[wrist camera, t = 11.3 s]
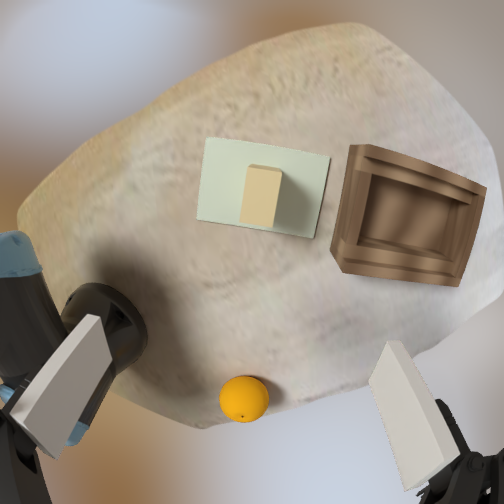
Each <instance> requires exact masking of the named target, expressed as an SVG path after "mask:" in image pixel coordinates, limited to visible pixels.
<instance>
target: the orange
mask: <svg viewBox="0 0 504 504" xmlns="http://www.w3.org/2000/svg"><path fill="white" fill-rule="evenodd" d="M219 402H220V407H221V409H222V411H223V412H224V414H225V415H226V416H227V417H229V418H230V419H232V420H234V421H237V422H244V423H245V422H252V421H255V420H257V419H258V418H260V417H261V416H262V415H263V414H264V413H265V411H266V409H267V408H268V404H269V394H268V391H267V389H266V387H265V386H264V385H263V384H262V383H261V382H260V381H259V380H257V379H255V378H252V377H248V376H240V377H235V378H233V379H230V380H229V381H228V382H227V383H225V384H224V386H223V387H222V389H221V392H220V395H219Z"/></svg>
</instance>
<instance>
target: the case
mask: <svg viewBox="0 0 504 504" xmlns="http://www.w3.org/2000/svg"><path fill="white" fill-rule="evenodd" d="M486 190H487V188H486V187H484V186H482V185H480V184H478V183H476V182H474V181H471V180H469V179H467V178H465V177H462V176H460V175H458V174H455V173H453V172H450V171H448V170H445V169H443V168H440V167H438V166H435V165H433V164H430V163H427V162H424V161H422V160H419V159H416V158H413V157H410V156H407V155H404V154H401V153H398V152H394V151H391V150H388V149H384V148H381V147H378V146H374V145H370V144H365V145H350V147H349V154H348V160H347V166H346V172H345V178H344V184H343V189H342V195H341V200H340V205H339V210H338V215H337V220H336V224H335V229H334V234H333V238H332V243H331V247H330V252H331V253H332V255H333V257H334V259H335V260H336V262H337V264H338V265H339V267H340V269H341V271H342V273H347V274H354V275H362V276H370V277H378V278H386V279H394V280H403V281H411V282H419V283H427V284H436V285H444V286H453V287H458V286H459V284H460V281H461V279H462V276H463V273H464V271H465V268H466V265H467V262H468V259H469V256H470V253H471V250H472V247H473V244H474V240H475V237H476V233H477V230H478V226H479V222H480V218H481V214H482V209H483V205H484V200H485V195H486Z"/></svg>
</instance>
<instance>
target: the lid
mask: <svg viewBox="0 0 504 504" xmlns="http://www.w3.org/2000/svg"><path fill="white" fill-rule="evenodd" d="M329 160H330V157H328V156H323V155H319V154H314V153H310V152H305V151H300V150H295V149H290V148H284V147H279V146H273V145H267V144H260V143H254V142H247V141H239V140H232V139H223V138H214V137H206V142H205V150H204V157H203V165H202V172H201V181H200V189H199V198H198V208H197V218H196V220H203V221H210V222H216V223H223V224H229V225H236V226H242V227H248V228H254V229H260V230H266V231H273V232H278V233H284V234H290V235H296V236H302V237H308V238H313V237H314V233H315V228H316V224H317V219H318V215H319V210H320V206H321V201H322V196H323V191H324V186H325V181H326V176H327V171H328V166H329Z"/></svg>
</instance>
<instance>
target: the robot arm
mask: <svg viewBox="0 0 504 504" xmlns="http://www.w3.org/2000/svg"><path fill="white" fill-rule="evenodd" d="M42 270H43V268H42V265H40V264H39V262H38V259H37V257H36V254H35V251H34V248H33V245H32V243H31V240H30V238H29V237H28V236H27V235H26V234H25V233H24V232H22V231H9V232H5V233H0V377H1V379H2V380H3V382H4V383H3V384H1V385H0V397H1V399H2V401H3V402H4V403H5V406H4V407H3V409H1V410H0V504H52V502H51V500H50V496H49V493H48V490H47V487H46V484H45V480H44V477H43V473H42V470H41V467H40V462H39V458H38V454H37V452H36V450H35V449H36V447H37V446H38V447H39V448H40V449H41V450H42V451H43V453H45V454H47V455H49V456H51V457H52V458H54V459H56V460H58V458H59V456H60V454H61V452H62V450H63V448H64V446H65V445H66V446H74V445H76V444H78V443H79V442H80V440H81V438H82V437H83V435H84V433H85V432H86V430H88V429H89V427H90V424H91V423H92V420H93V419H94V417H95V414H96V413H97V411H98V409H99V407H100V405H101V403H102V401H103V399H104V397H105V395H106V393H107V391H108V389H109V388H110V386H111V384H112V382H113V380H114V379H115V377H116V375H118V374H119V373H120V372H122V371H123V370H124V369H126V368H127V367H128V366H129V365H130V364H132V363H134V362H135V361H136V360H137V359H138V358H139V357H140V356H141V354H142V352H143V350H144V348H145V346H146V343H147V331H146V327H145V324H144V322H143V319H142V318H141V316H140V314H139V313H138V311H137V310H136V308H135V307H134V306H133V305H132V304H131V303H130V301H129V300H128V299H126V298H125V297H124V296H123V295H122V294H120V293H119V292H117V291H116V290H114V289H113V288H111V287H108V286H106V285H103V284H99V283H86V284H83V285H81V286H80V287H79V288H77V289H76V290H75V291H74V292H73V293H72V294H71V295H70V296H69V298H68V300H67V302H66V305H65V307H64V309H63V311H62V313H61V316H60V315H59V313H58V311H57V309H56V306H55V304H54V302H53V299H52V297H51V294H50V292H49V289H48V287H47V284H46V282H45V279H44V276H43V273H42ZM368 382H369V385H370V387H371V390H372V393H373V396H374V398H375V401H376V404H377V407H378V410H379V412H380V415H381V418H382V420H383V424H384V427H385V430H386V433H387V436H388V439H389V442H390V445H391V447H392V451H393V454H394V457H395V460H396V464H397V467H398V471H399V473H400V477H401V481H402V484H403V488H404V491H408V490H411V489H414V488H417V487H419V486H421V485H422V484H424V483H425V482H427V481H429V485H428V486H426V487H425V488H424V489H422V490H421V491H419V492H418V494H417V495H416V496H419V495H421V494H423V493H424V494H423V495H422V496H421V501H420V503H419V504H504V448H503V449H502V450H501V451H500V452H499V453H498V454H497V455H492V456H485V457H483V456H482V454H480V453H478V452H471V451H470V449H469V447H468V446H467V443H466V441H465V439H464V437H463V435H462V433H461V431H460V429H459V427H458V425H457V424H456V421H455V419H454V417H452V413H451V411H450V409H449V407H448V406H447V405H446V404H445V403H444V402H443V401H442V400H441V399H436V400H434V398H433V396H432V395H431V393H430V391H429V389H428V387H427V385H426V383H425V382H424V380H423V378H422V376H421V375H420V373H419V371H418V369H417V367H416V366H415V364H414V362H413V361H412V359H411V357H410V355H409V354H408V352H407V350H406V349H405V347H404V345H403V344H402V342H401V341H400V340H396V341H387V342H386V344H385V347H384V349H383V351H382V354H381V356H380V358H379V360H378V362H377V365H376V367H375V369H374V371H373V373H372V375H371V377H370V379H369V381H368ZM490 487H491V492H490V493H489V494H487V493H486V490H487V489H489V488H490Z"/></svg>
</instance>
